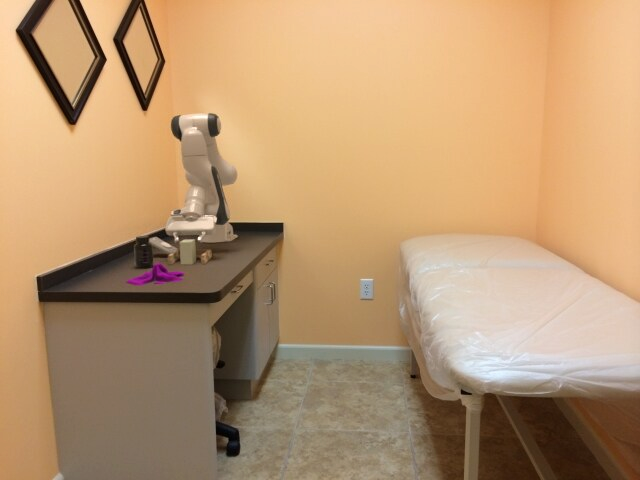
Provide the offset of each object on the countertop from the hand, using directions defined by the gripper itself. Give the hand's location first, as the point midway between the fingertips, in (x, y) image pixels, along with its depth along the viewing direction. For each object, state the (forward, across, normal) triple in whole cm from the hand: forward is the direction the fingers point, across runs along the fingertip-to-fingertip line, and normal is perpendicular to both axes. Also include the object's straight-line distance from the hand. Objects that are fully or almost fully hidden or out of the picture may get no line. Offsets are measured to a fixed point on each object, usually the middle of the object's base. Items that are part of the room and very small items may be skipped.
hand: (188, 242), depth 203 cm
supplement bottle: (+12, +16, 0) cm, 19 cm away
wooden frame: (+4, 0, -7) cm, 8 cm away
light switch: (-4, +14, -15) cm, 21 cm away
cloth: (+27, +2, +13) cm, 30 cm away
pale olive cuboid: (+7, 0, -5) cm, 8 cm away
